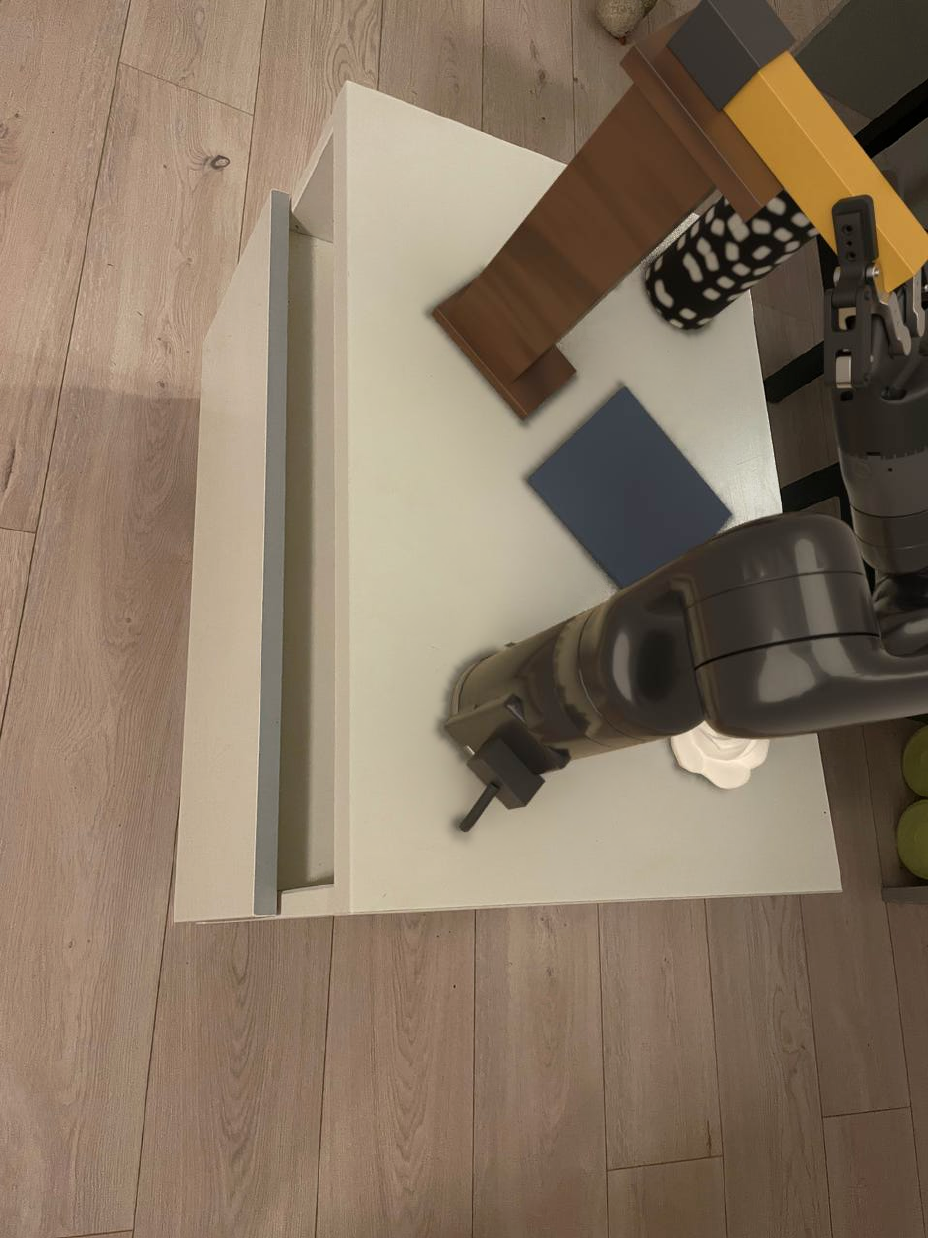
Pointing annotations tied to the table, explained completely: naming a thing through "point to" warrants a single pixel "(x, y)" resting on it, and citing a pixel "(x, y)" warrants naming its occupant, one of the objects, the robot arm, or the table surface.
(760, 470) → the table surface
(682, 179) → the stand
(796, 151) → the pen box
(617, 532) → the desk mat
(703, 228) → the white-spotted black cylinder
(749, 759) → the rose
